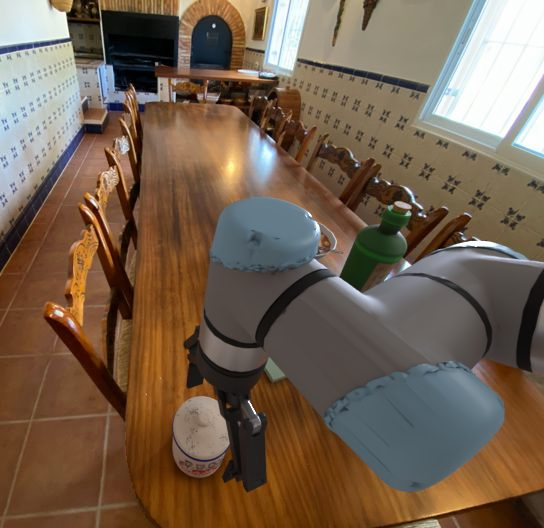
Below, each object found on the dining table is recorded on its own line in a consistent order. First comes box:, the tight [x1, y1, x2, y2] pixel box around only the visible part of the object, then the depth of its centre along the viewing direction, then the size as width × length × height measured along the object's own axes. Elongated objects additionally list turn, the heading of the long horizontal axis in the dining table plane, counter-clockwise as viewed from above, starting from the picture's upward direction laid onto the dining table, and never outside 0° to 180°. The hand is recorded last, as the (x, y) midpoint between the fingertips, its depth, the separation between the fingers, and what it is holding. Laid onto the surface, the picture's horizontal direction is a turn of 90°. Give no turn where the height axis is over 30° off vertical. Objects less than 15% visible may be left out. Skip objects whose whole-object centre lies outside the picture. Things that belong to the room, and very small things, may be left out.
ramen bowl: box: [313, 219, 344, 261], centre depth 92 cm, size 25×23×8 cm
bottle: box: [338, 200, 412, 293], centre depth 71 cm, size 11×11×28 cm
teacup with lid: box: [171, 395, 230, 479], centre depth 46 cm, size 12×9×12 cm
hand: (211, 425), depth 45 cm, fingers open, 13 cm apart
